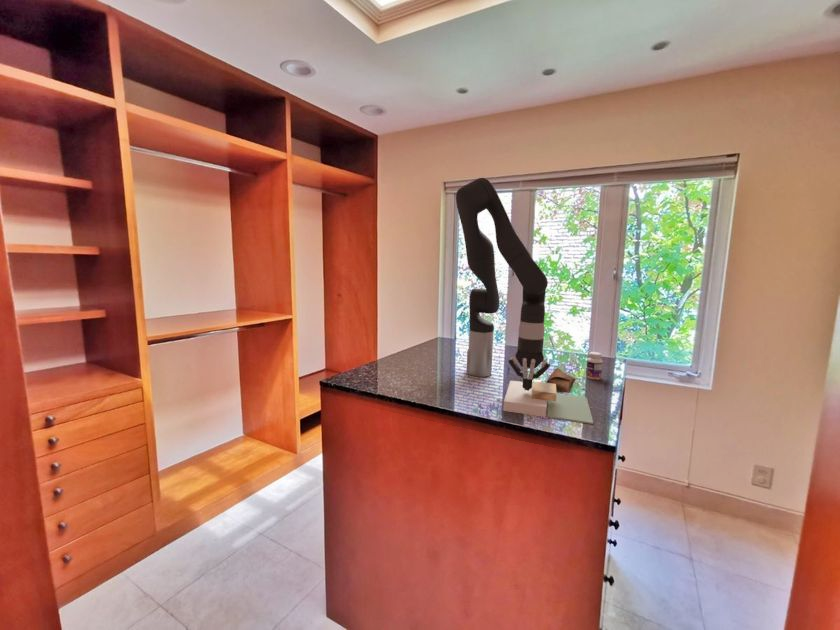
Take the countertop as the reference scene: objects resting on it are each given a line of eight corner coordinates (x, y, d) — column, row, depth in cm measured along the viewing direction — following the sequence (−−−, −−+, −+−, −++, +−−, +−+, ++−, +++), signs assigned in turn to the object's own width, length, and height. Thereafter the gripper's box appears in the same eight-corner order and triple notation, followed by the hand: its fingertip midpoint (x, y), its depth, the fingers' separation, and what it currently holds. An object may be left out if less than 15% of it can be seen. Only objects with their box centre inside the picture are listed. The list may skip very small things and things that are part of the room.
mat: (547, 417, 106) (547, 416, 106) (547, 393, 125) (547, 392, 125) (593, 424, 103) (593, 422, 102) (586, 398, 121) (586, 397, 121)
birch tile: (531, 398, 113) (531, 390, 112) (532, 388, 121) (533, 381, 121) (555, 401, 110) (556, 393, 110) (555, 391, 119) (555, 383, 118)
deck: (503, 410, 110) (503, 401, 110) (509, 388, 129) (510, 380, 129) (545, 417, 107) (546, 407, 106) (546, 393, 125) (546, 384, 125)
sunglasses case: (570, 393, 125) (561, 375, 126) (551, 399, 129) (542, 382, 130) (576, 378, 141) (567, 362, 142) (558, 384, 145) (550, 369, 145)
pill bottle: (582, 375, 146) (585, 351, 144) (596, 375, 146) (598, 351, 144) (590, 379, 140) (592, 355, 139) (603, 379, 141) (606, 354, 139)
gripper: (507, 336, 113) (504, 390, 116) (553, 340, 108) (549, 396, 111) (510, 331, 120) (507, 383, 123) (553, 335, 115) (549, 388, 118)
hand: (527, 389), depth 117 cm, fingers closed
